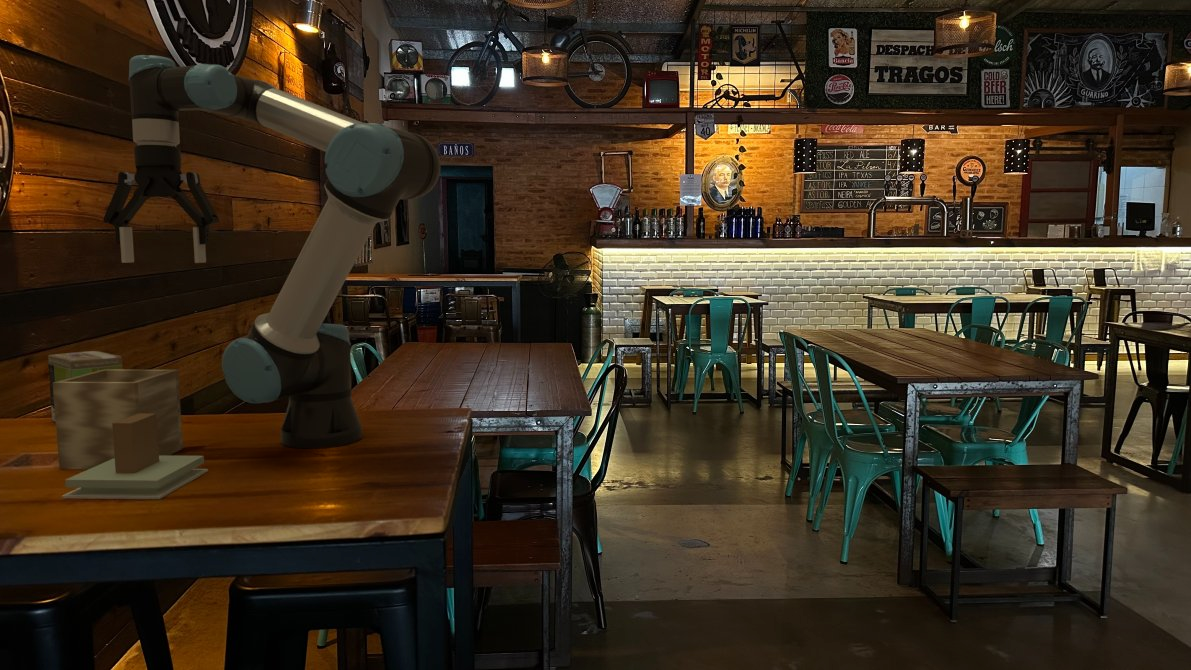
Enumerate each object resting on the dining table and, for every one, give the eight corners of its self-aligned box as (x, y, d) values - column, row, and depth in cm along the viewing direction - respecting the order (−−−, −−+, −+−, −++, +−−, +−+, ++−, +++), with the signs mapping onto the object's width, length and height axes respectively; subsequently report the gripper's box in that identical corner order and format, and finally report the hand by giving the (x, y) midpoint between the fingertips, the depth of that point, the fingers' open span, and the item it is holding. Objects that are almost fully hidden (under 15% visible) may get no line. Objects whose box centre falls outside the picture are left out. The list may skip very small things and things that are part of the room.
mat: (207, 471, 140) (207, 468, 140) (159, 499, 125) (159, 496, 125) (120, 470, 140) (120, 468, 140) (61, 498, 125) (61, 495, 125)
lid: (204, 469, 139) (201, 409, 138) (158, 495, 125) (153, 428, 124) (121, 468, 140) (117, 408, 138) (66, 495, 126) (61, 428, 124)
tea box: (127, 424, 175) (123, 355, 173) (74, 432, 167) (68, 360, 166) (102, 414, 185) (97, 348, 183) (50, 421, 177) (45, 353, 176)
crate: (182, 448, 154) (178, 369, 153) (140, 469, 141) (134, 383, 139) (109, 448, 155) (103, 369, 153) (59, 469, 141) (52, 382, 139)
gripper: (234, 147, 153) (240, 262, 156) (102, 147, 154) (110, 261, 156) (214, 143, 146) (221, 263, 148) (76, 143, 146) (84, 263, 149)
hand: (164, 262), depth 152 cm, fingers open, 13 cm apart
